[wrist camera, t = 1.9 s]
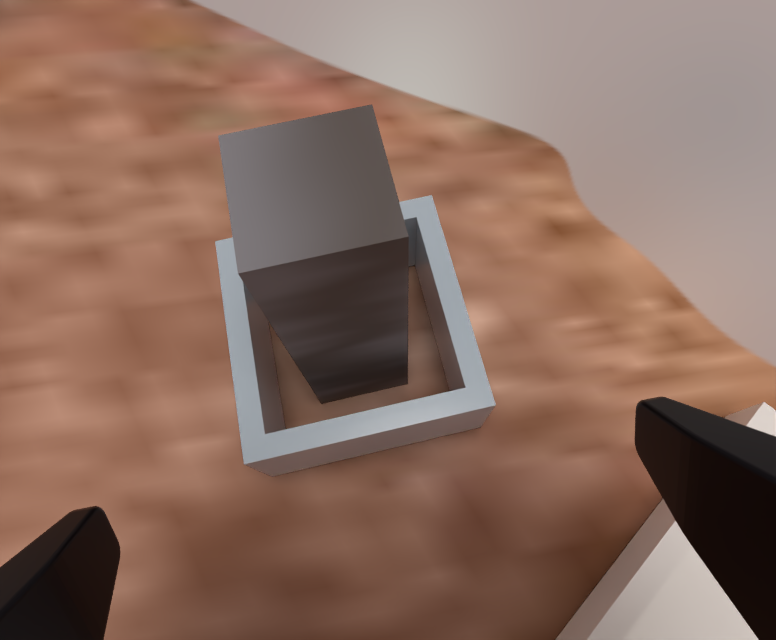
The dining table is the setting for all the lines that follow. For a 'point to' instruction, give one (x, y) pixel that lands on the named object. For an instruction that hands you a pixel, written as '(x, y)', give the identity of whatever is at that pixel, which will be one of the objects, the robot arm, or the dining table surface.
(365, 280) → the dark grey pillar
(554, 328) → the dining table surface
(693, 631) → the tray
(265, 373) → the square frame
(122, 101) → the dining table surface
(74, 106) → the dining table surface
